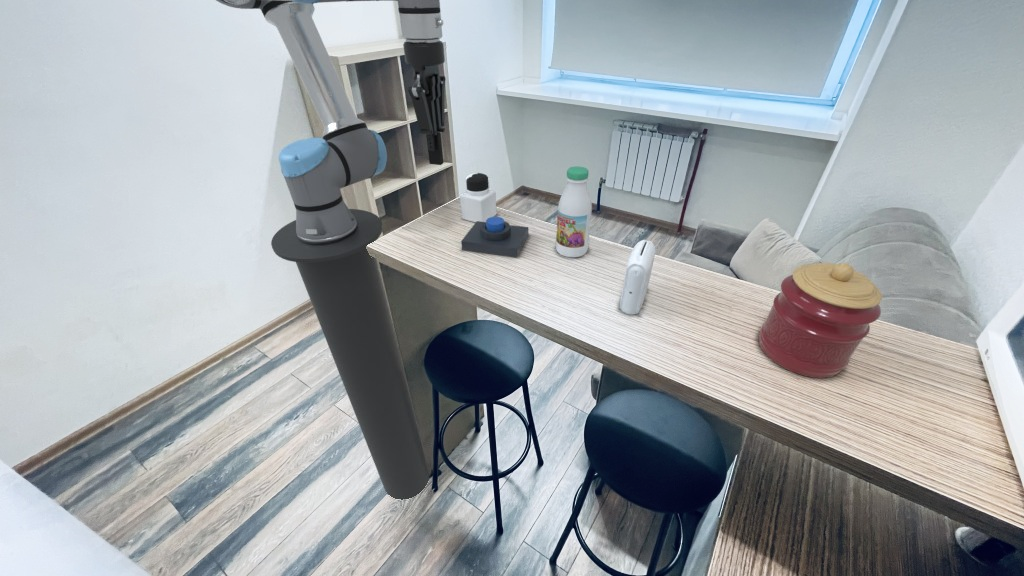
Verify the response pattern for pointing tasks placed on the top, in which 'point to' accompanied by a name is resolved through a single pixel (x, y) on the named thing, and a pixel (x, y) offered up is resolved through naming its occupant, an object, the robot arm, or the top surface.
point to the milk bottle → (574, 215)
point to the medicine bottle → (478, 199)
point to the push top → (495, 224)
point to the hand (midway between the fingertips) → (436, 163)
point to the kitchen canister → (820, 318)
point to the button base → (495, 239)
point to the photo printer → (637, 277)
